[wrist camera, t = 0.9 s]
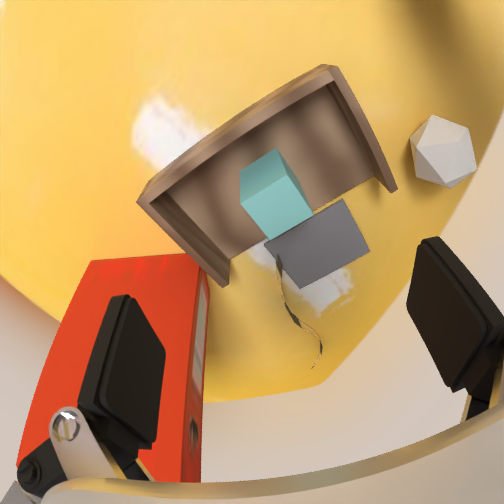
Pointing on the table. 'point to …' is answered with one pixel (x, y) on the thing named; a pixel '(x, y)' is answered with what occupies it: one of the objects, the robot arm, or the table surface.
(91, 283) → the file binder
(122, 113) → the table surface
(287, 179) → the teal block
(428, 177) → the die
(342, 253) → the mat
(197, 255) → the open box
